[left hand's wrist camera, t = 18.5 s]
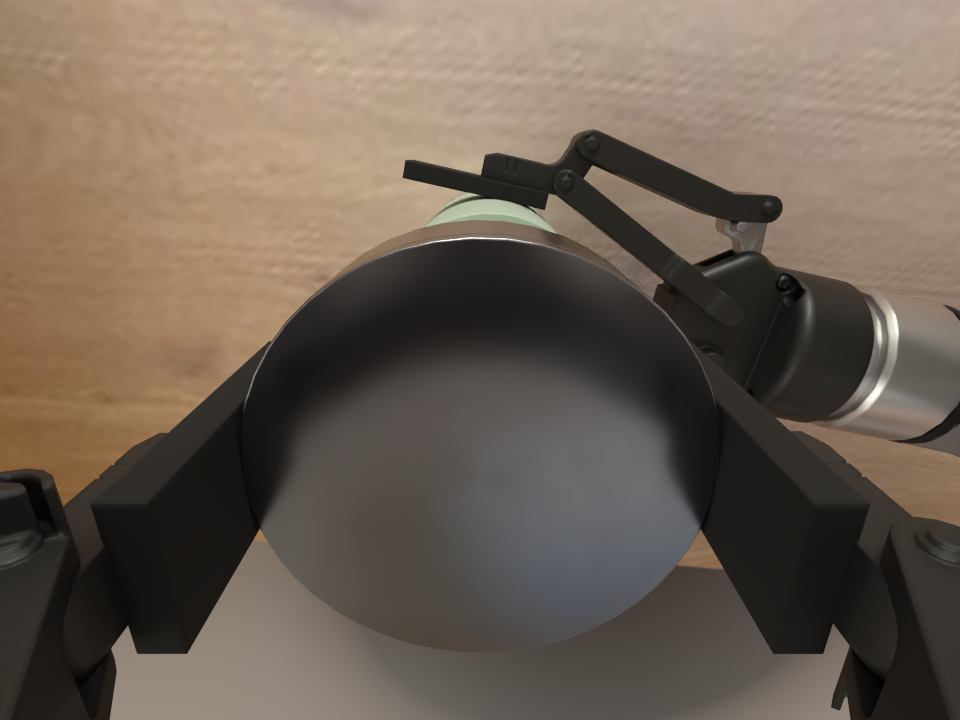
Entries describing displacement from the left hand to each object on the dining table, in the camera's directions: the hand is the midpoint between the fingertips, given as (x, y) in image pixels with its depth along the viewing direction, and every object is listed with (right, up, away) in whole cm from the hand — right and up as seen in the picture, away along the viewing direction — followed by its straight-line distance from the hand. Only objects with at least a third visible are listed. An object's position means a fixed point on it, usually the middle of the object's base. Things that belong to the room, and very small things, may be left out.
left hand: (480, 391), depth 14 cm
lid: (0, -1, -3) cm, 4 cm away
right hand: (-4, +6, +13) cm, 15 cm away
